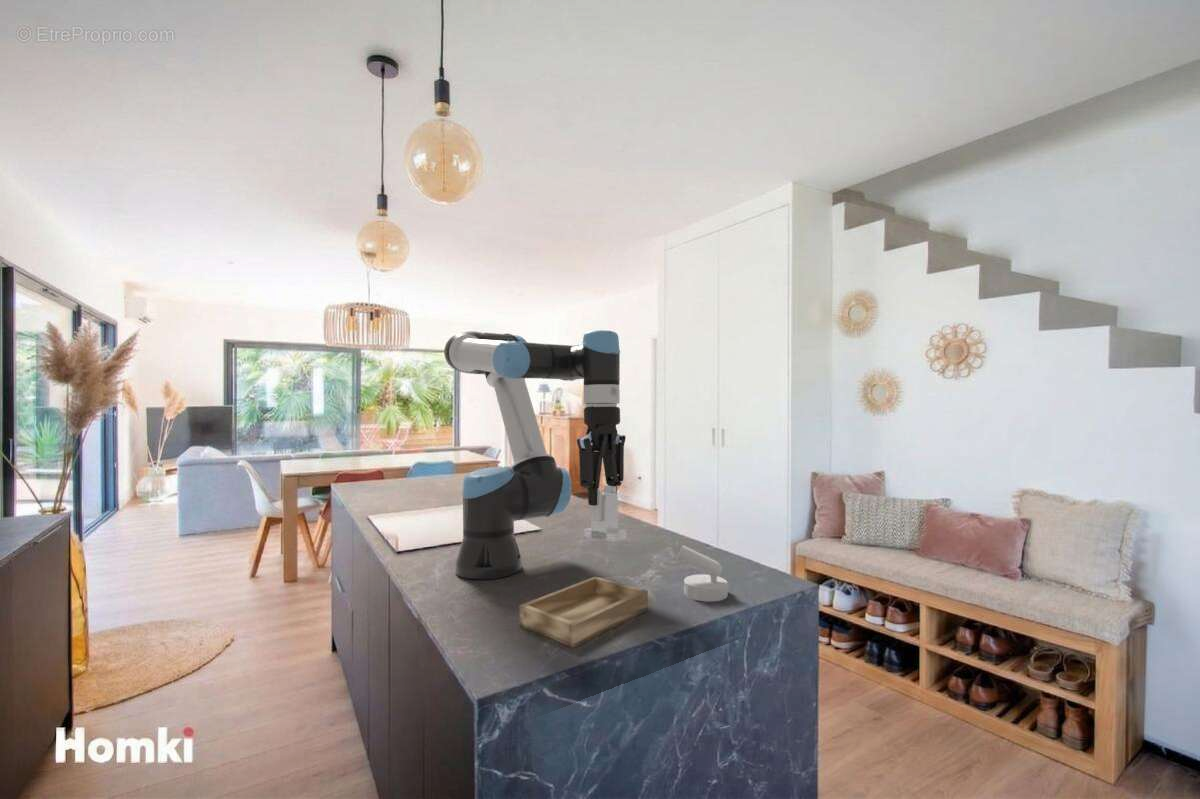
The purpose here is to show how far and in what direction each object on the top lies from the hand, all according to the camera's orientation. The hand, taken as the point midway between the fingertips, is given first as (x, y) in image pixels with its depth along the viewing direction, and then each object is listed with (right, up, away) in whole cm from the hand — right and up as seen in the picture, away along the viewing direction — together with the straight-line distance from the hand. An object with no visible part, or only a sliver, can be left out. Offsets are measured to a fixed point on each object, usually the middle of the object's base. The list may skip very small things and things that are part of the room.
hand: (603, 518), depth 109 cm
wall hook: (+20, -15, -2) cm, 25 cm away
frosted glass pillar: (0, -4, 0) cm, 4 cm away
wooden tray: (-3, -15, -14) cm, 20 cm away
